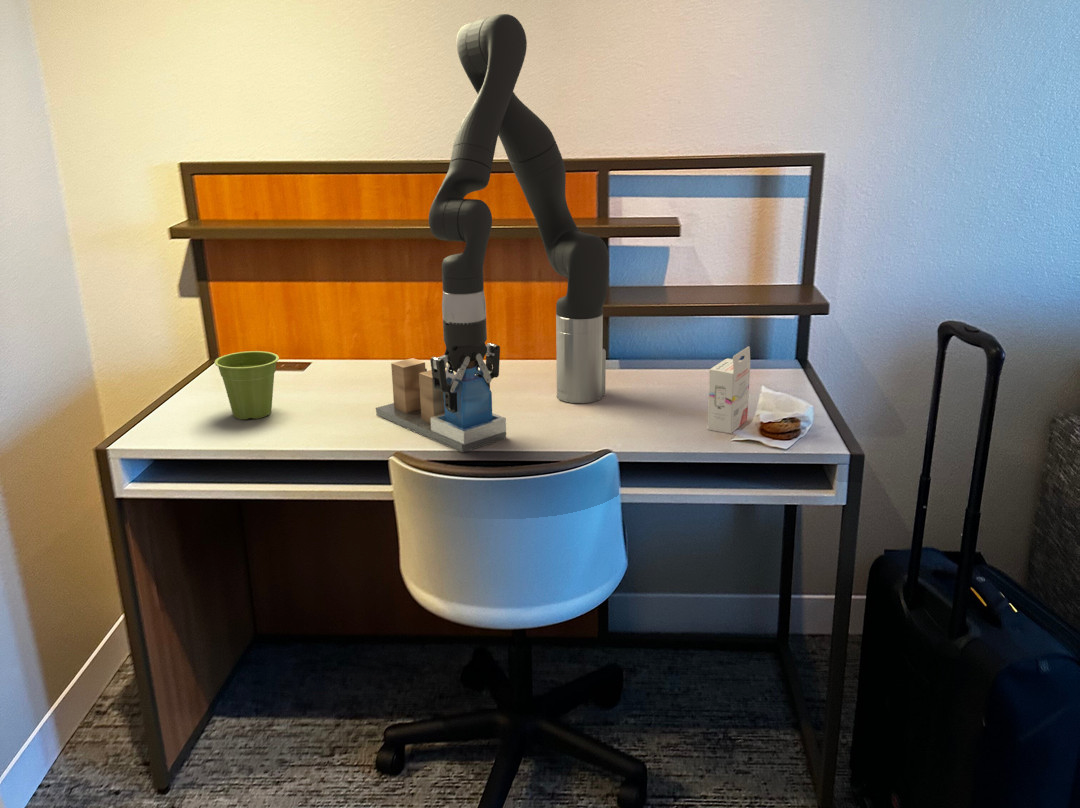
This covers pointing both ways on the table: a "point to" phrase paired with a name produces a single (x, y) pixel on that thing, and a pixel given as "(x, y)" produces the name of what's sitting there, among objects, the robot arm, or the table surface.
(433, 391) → the walnut finger front
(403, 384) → the walnut finger rear
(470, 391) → the perfume bottle
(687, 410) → the table surface
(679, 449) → the table surface
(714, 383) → the ink cartridge box
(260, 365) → the plant pot
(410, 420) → the grey rectangular tray
